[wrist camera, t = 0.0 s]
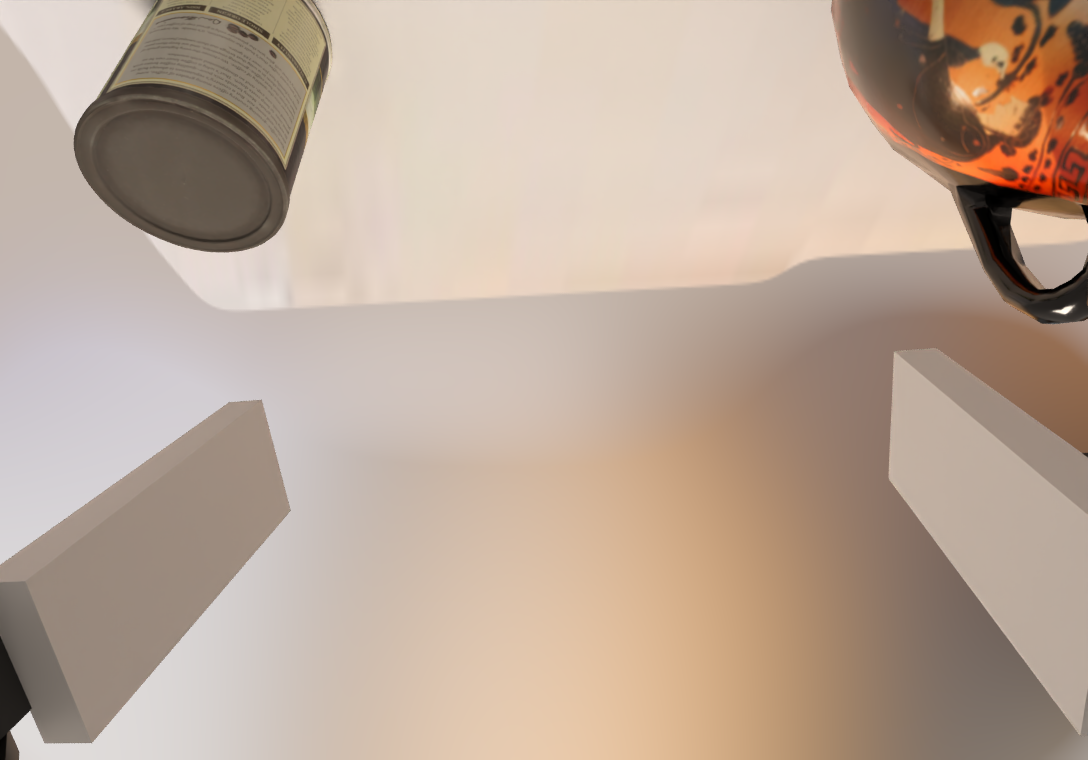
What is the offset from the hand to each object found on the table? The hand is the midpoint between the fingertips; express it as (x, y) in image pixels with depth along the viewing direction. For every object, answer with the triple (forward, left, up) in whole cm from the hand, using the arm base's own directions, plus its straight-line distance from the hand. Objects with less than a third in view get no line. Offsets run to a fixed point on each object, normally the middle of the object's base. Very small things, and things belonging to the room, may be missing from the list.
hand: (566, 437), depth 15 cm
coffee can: (-2, -23, -36) cm, 43 cm away
